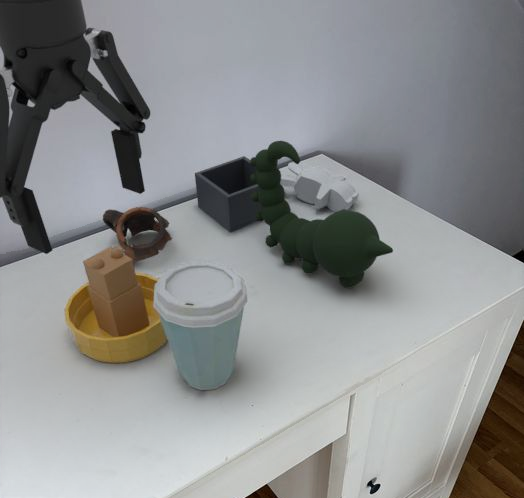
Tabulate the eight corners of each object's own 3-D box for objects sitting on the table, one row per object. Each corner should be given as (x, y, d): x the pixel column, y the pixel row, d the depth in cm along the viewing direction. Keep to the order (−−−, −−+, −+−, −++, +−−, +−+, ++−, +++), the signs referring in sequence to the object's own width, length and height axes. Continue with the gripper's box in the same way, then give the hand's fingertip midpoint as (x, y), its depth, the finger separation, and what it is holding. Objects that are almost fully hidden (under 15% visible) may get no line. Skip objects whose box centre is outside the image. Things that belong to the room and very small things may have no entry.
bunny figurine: (342, 201, 94) (268, 169, 99) (337, 227, 98) (265, 194, 103) (368, 178, 100) (296, 148, 105) (361, 203, 104) (293, 173, 108)
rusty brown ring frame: (183, 236, 96) (179, 212, 88) (160, 284, 93) (154, 263, 85) (118, 210, 96) (108, 184, 88) (93, 257, 94) (81, 234, 86)
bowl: (52, 332, 78) (43, 307, 75) (133, 284, 86) (128, 260, 83) (114, 381, 72) (106, 356, 68) (196, 325, 79) (193, 300, 76)
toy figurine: (245, 258, 93) (368, 316, 79) (231, 144, 81) (375, 188, 66) (284, 235, 98) (407, 286, 83) (277, 124, 85) (420, 161, 71)
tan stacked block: (96, 325, 78) (75, 253, 70) (125, 307, 81) (108, 236, 73) (120, 343, 76) (101, 270, 67) (149, 324, 78) (134, 252, 70)
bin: (198, 207, 102) (194, 173, 97) (245, 189, 106) (244, 155, 101) (230, 232, 95) (228, 197, 91) (279, 212, 100) (279, 178, 95)
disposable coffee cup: (180, 340, 77) (165, 247, 66) (258, 348, 75) (255, 255, 65) (157, 399, 69) (136, 305, 59) (243, 409, 68) (237, 315, 57)
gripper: (-86, 31, 36) (19, 291, 51) (166, -42, 51) (190, 177, 66) (-151, 14, 39) (-33, 265, 54) (105, -50, 54) (142, 161, 69)
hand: (90, 217), depth 60 cm, fingers open, 13 cm apart
